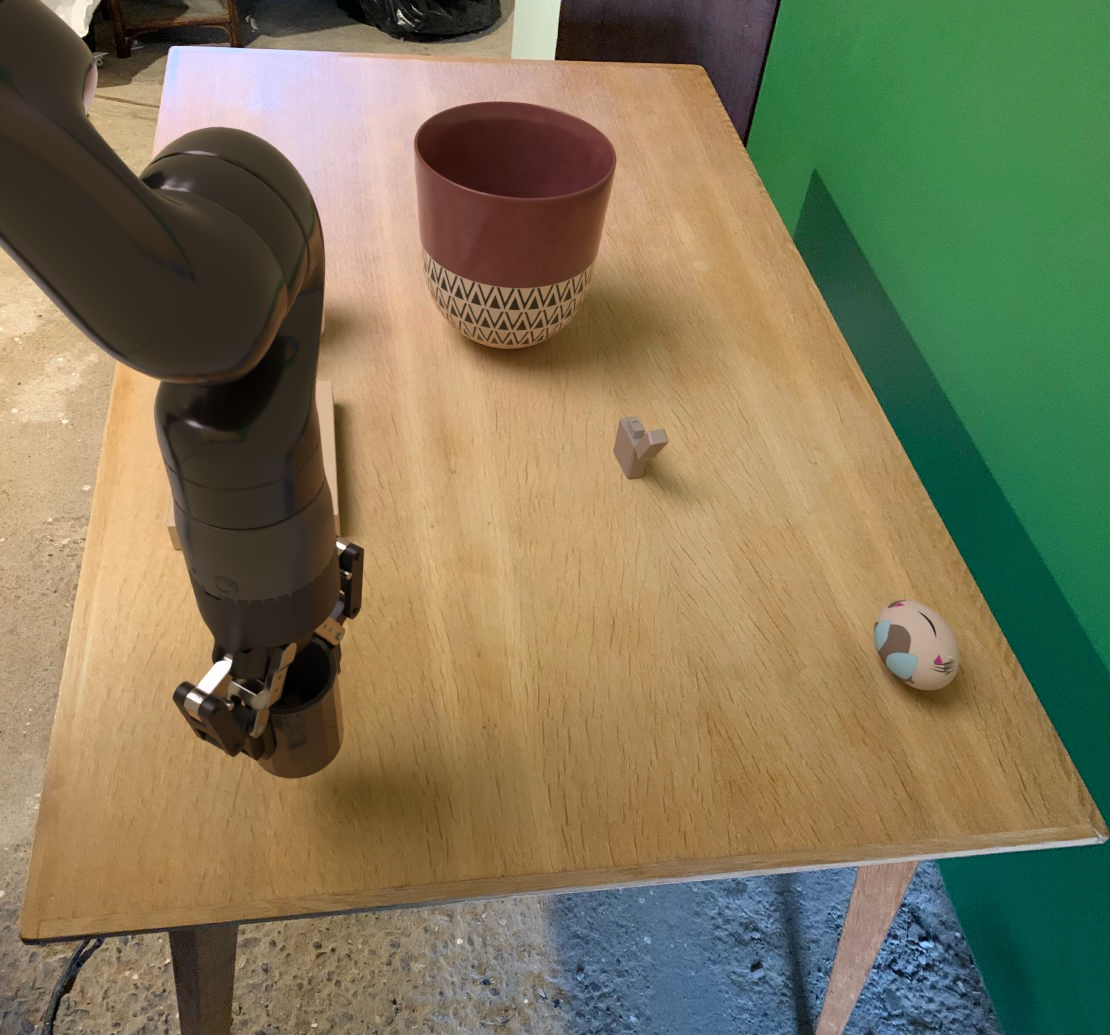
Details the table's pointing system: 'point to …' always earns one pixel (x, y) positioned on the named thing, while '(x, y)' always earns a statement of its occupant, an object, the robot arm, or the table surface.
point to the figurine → (916, 645)
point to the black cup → (306, 715)
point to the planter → (510, 217)
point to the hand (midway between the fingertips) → (292, 709)
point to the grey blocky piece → (636, 446)
